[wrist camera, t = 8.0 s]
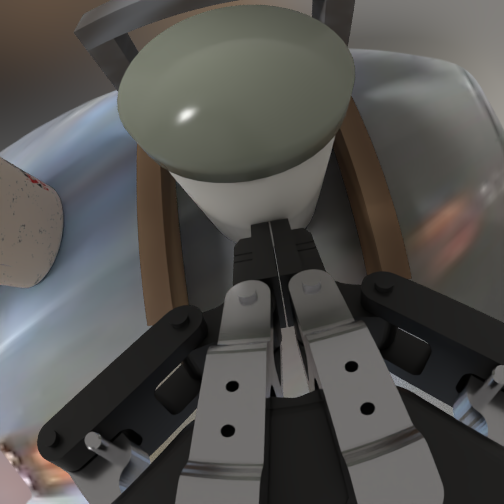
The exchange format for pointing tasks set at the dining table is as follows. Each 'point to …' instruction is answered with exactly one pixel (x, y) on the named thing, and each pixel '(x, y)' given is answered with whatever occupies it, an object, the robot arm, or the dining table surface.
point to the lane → (164, 184)
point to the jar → (241, 111)
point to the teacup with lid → (27, 227)
